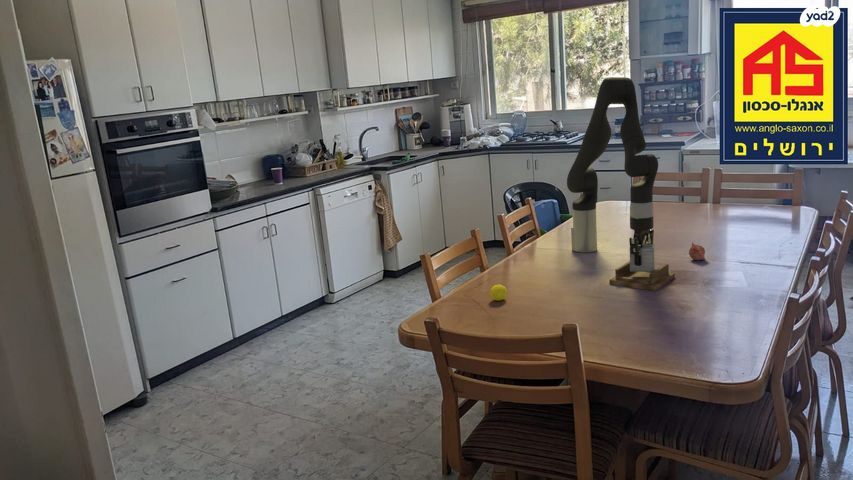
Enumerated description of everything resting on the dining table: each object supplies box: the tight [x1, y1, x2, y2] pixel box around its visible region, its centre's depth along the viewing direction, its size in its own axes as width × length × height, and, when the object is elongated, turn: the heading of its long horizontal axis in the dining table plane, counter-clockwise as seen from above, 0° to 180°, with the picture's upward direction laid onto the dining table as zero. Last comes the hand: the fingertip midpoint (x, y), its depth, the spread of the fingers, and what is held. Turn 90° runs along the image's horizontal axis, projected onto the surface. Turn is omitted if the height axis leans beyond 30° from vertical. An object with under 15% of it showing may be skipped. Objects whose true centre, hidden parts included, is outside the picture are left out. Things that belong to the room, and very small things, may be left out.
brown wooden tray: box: [609, 260, 676, 292], centre depth 227 cm, size 16×16×5 cm
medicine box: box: [629, 243, 655, 272], centre depth 225 cm, size 8×4×9 cm, turn 70°
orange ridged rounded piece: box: [688, 242, 707, 261], centre depth 244 cm, size 8×8×6 cm
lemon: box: [489, 284, 508, 302], centre depth 220 cm, size 7×5×5 cm
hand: (642, 262), depth 226 cm, fingers closed on medicine box, 5 cm apart
